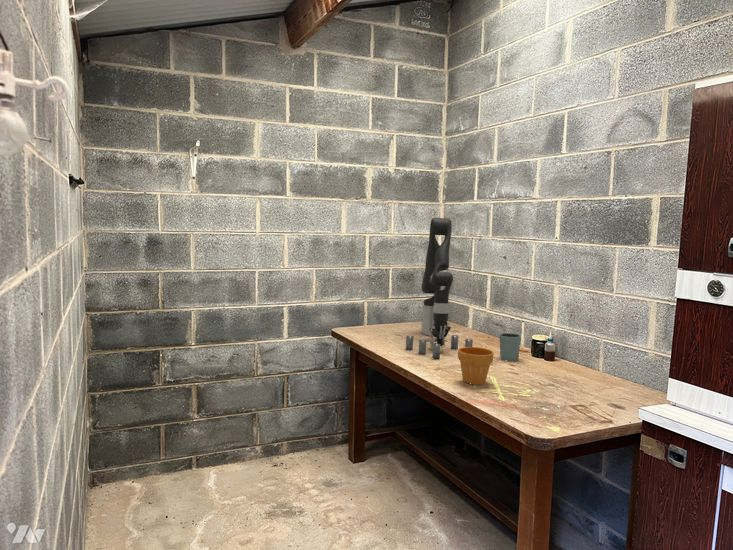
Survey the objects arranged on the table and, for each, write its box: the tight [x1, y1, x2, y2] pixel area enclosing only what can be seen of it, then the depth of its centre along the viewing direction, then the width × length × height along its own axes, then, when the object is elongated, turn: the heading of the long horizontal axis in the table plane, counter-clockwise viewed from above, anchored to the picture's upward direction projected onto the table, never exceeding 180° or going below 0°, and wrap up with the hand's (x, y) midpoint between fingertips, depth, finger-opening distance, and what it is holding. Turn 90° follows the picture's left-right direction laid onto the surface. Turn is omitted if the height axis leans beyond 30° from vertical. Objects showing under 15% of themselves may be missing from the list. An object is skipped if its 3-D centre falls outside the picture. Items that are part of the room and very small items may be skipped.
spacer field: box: [405, 334, 474, 360], centre depth 266 cm, size 24×26×7 cm
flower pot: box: [457, 346, 494, 385], centre depth 215 cm, size 14×14×13 cm
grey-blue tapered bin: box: [498, 332, 522, 362], centre depth 254 cm, size 10×10×12 cm
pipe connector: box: [423, 330, 437, 351], centre depth 269 cm, size 10×10×10 cm
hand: (439, 345), depth 265 cm, fingers closed
